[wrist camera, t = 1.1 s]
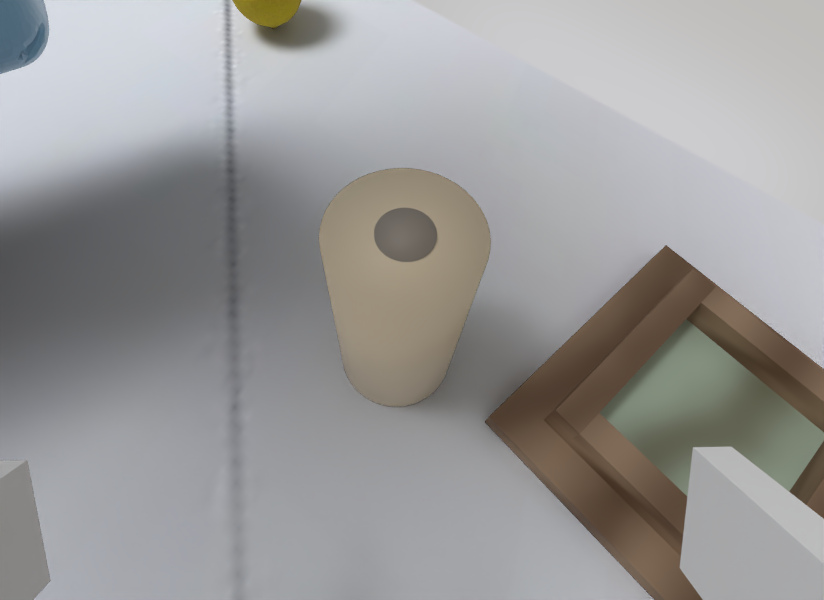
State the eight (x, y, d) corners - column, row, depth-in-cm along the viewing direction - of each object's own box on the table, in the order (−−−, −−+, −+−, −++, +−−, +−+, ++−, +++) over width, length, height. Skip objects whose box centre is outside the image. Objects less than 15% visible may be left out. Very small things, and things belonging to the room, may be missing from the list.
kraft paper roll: (320, 349, 28) (283, 225, 17) (400, 287, 30) (411, 141, 19) (391, 429, 26) (398, 347, 16) (471, 358, 28) (526, 241, 18)
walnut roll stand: (484, 421, 27) (497, 406, 24) (656, 255, 32) (683, 226, 29) (744, 693, 22) (798, 715, 19) (895, 445, 28) (954, 433, 25)
